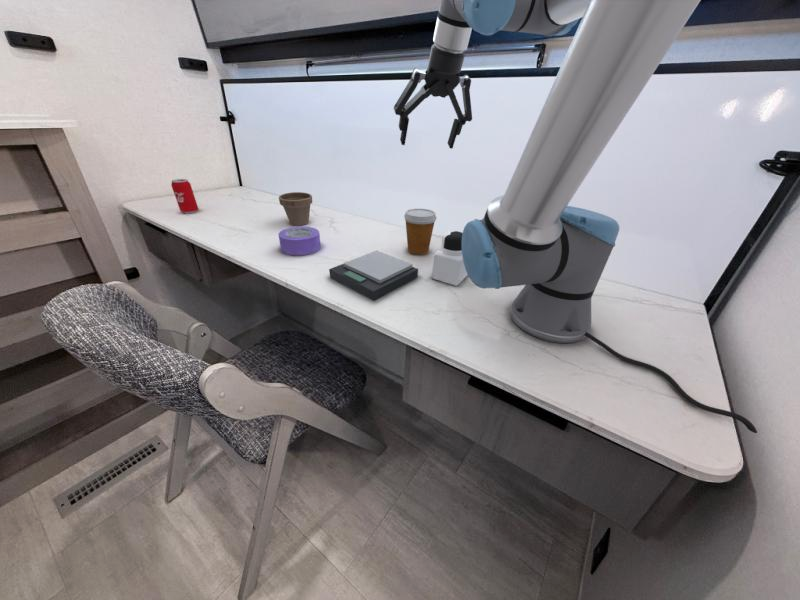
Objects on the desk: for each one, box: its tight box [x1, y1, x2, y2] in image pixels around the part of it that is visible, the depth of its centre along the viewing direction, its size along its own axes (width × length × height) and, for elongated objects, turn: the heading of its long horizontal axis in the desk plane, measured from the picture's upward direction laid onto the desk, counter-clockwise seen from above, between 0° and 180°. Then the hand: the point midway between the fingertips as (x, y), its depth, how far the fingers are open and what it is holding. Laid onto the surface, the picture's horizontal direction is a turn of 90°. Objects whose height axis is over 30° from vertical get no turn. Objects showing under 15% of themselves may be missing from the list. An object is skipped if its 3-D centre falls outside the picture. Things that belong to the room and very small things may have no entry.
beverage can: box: [170, 178, 199, 214], centre depth 119 cm, size 6×6×12 cm
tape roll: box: [277, 225, 322, 256], centre depth 93 cm, size 12×12×5 cm
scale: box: [328, 250, 419, 302], centre depth 78 cm, size 16×16×4 cm
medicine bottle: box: [431, 230, 468, 287], centre depth 77 cm, size 7×7×12 cm
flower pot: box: [278, 191, 313, 227], centre depth 111 cm, size 12×11×10 cm
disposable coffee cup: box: [403, 208, 438, 256], centre depth 91 cm, size 10×10×12 cm
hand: (426, 144), depth 83 cm, fingers open, 13 cm apart
